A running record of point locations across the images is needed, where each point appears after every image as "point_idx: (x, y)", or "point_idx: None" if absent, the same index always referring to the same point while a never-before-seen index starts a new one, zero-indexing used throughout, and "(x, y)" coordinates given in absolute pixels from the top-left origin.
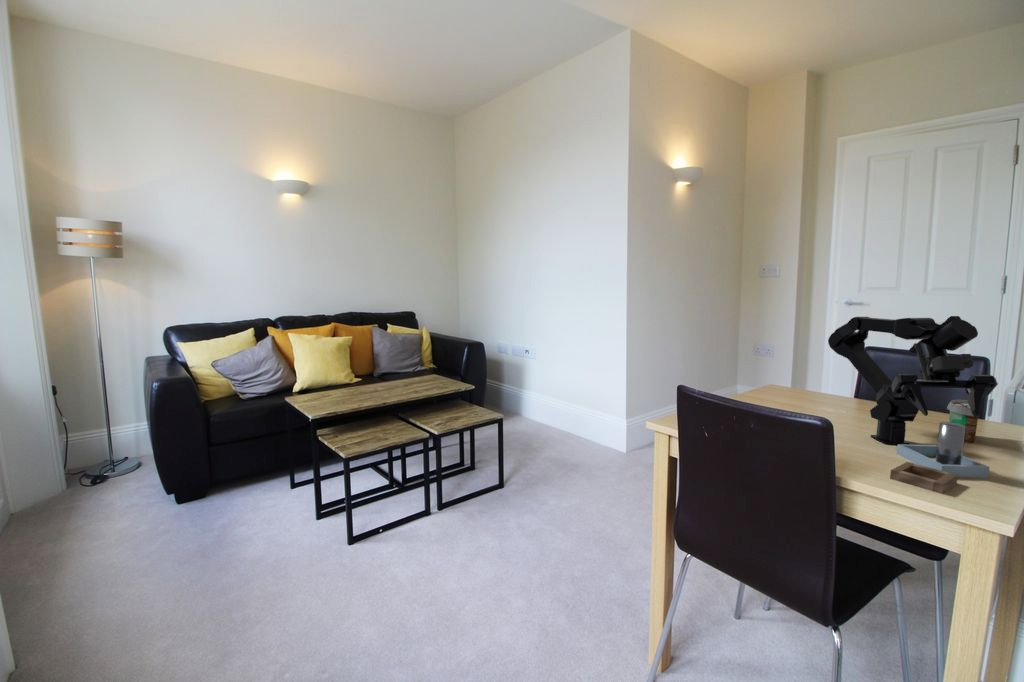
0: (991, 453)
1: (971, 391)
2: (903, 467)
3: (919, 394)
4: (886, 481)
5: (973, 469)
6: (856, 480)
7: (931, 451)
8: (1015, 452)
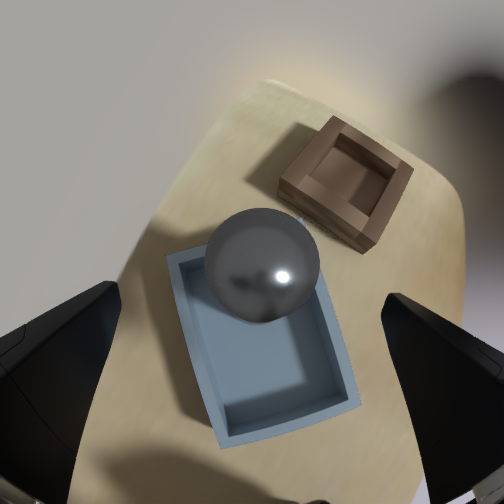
0: (79, 487)
1: (1, 458)
2: (391, 192)
3: (499, 370)
4: (405, 191)
5: None
6: (445, 182)
7: (250, 426)
8: None
